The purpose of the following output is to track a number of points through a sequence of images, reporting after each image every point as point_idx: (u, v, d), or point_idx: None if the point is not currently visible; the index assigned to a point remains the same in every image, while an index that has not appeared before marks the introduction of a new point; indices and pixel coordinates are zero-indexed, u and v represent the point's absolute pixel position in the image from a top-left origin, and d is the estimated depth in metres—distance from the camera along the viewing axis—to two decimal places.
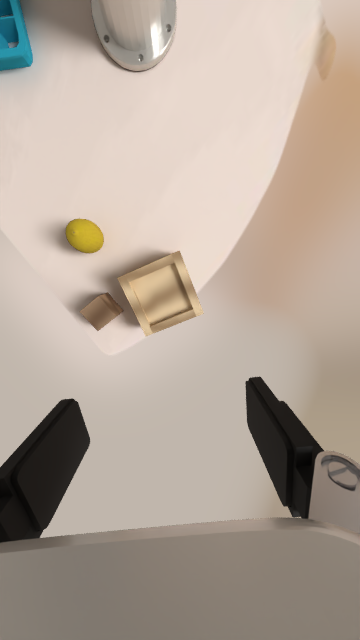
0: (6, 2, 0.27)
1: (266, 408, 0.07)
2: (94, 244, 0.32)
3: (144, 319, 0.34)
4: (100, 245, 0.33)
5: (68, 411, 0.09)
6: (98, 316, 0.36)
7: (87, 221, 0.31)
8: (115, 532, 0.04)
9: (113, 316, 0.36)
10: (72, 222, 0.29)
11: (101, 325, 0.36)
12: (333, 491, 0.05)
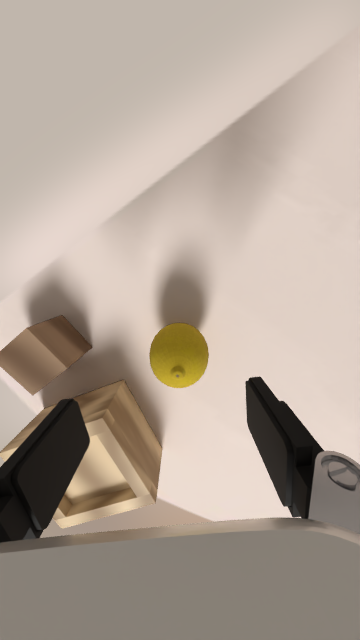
0: None
1: (266, 408, 0.07)
2: None
3: None
4: None
5: (68, 411, 0.09)
6: (24, 363, 0.17)
7: None
8: (115, 532, 0.04)
9: (31, 391, 0.18)
10: (198, 362, 0.14)
11: (6, 367, 0.17)
12: (333, 491, 0.05)
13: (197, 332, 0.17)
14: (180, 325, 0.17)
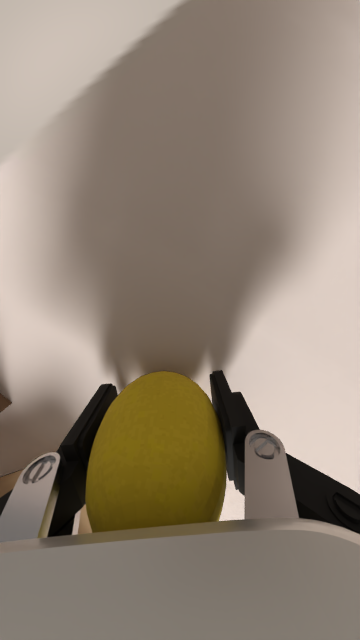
0: None
1: (218, 396, 0.08)
2: None
3: None
4: None
5: (109, 394, 0.10)
6: None
7: None
8: (115, 532, 0.04)
9: None
10: (208, 519, 0.05)
11: None
12: (259, 464, 0.05)
13: (200, 404, 0.07)
14: (162, 389, 0.07)
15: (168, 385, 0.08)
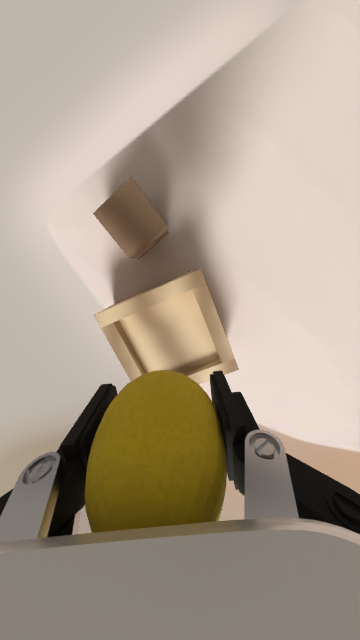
0: None
1: (218, 396, 0.08)
2: None
3: (126, 314, 0.19)
4: None
5: (109, 394, 0.10)
6: (123, 218, 0.18)
7: None
8: (115, 532, 0.04)
9: (127, 251, 0.19)
10: (208, 518, 0.05)
11: (106, 223, 0.18)
12: (259, 465, 0.05)
13: (199, 403, 0.07)
14: (161, 388, 0.07)
15: (168, 384, 0.08)
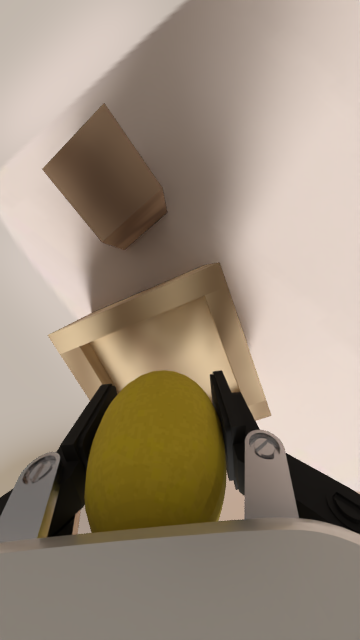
0: None
1: (218, 396, 0.08)
2: None
3: (99, 333, 0.12)
4: None
5: (110, 394, 0.10)
6: (93, 178, 0.11)
7: None
8: (115, 532, 0.04)
9: (100, 233, 0.12)
10: (208, 518, 0.05)
11: (64, 186, 0.11)
12: (259, 465, 0.05)
13: (199, 403, 0.07)
14: (161, 388, 0.07)
15: (168, 384, 0.08)
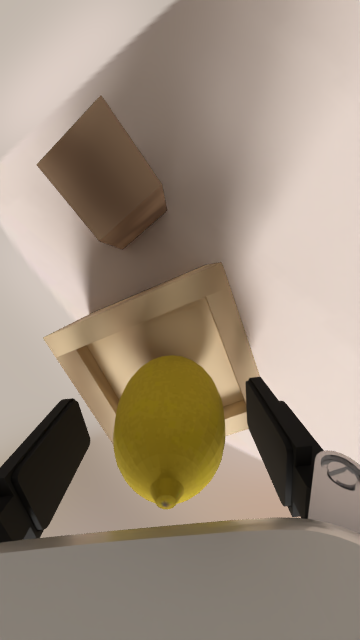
0: None
1: (266, 408, 0.07)
2: None
3: (96, 336, 0.12)
4: None
5: (68, 411, 0.09)
6: (90, 174, 0.10)
7: None
8: (115, 532, 0.04)
9: (97, 231, 0.11)
10: (211, 459, 0.07)
11: (60, 183, 0.10)
12: (333, 491, 0.05)
13: (204, 378, 0.09)
14: (172, 367, 0.09)
15: (177, 364, 0.09)
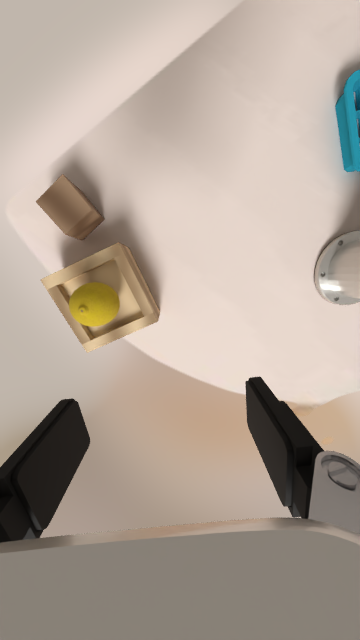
0: None
1: (266, 408, 0.07)
2: None
3: (65, 278, 0.25)
4: None
5: (68, 411, 0.09)
6: (59, 205, 0.24)
7: (110, 316, 0.22)
8: (115, 532, 0.04)
9: (64, 230, 0.25)
10: (100, 303, 0.21)
11: (46, 209, 0.24)
12: (333, 491, 0.05)
13: (106, 286, 0.23)
14: (94, 282, 0.23)
15: (97, 282, 0.23)
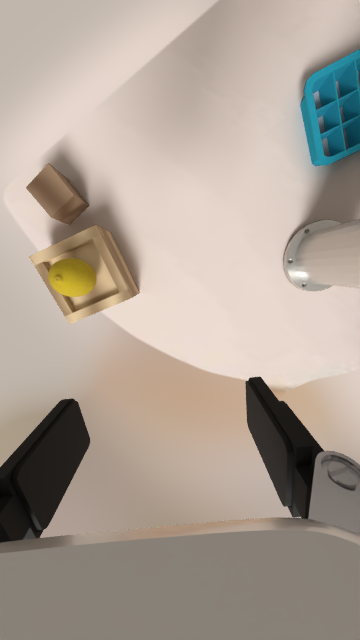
0: (354, 137, 0.29)
1: (266, 408, 0.07)
2: None
3: (50, 255, 0.29)
4: None
5: (68, 411, 0.09)
6: (46, 191, 0.27)
7: (84, 288, 0.26)
8: (115, 532, 0.04)
9: (50, 213, 0.28)
10: (74, 274, 0.24)
11: (34, 194, 0.28)
12: (333, 491, 0.05)
13: (82, 262, 0.26)
14: (72, 258, 0.26)
15: None
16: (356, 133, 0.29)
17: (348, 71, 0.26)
